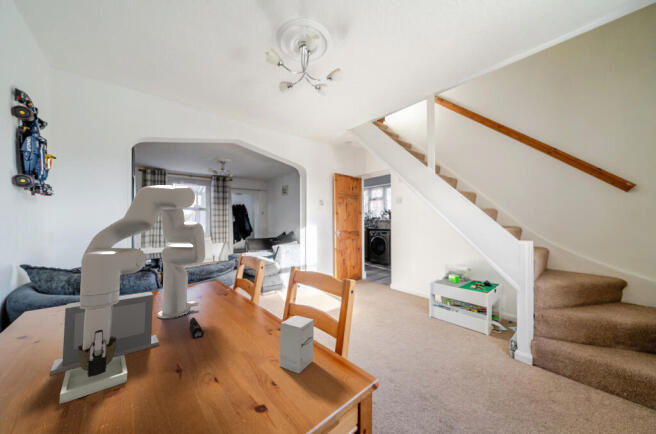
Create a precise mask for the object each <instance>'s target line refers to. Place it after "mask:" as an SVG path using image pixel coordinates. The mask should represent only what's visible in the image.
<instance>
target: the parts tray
mask: <svg viewBox="0 0 656 434" xmlns="http://www.w3.org/2000/svg"><path fill="white" fill-rule="evenodd" d="M125 355H126V354H124V355H120V356H117V357H113V359H112V360H111V362H110V363H109V364H108V365H106V366H107V368H106V371H105V372H104V373H102V374H100V375H97V376H91V377H88V375H87V372H88V371H85V370H83V369H82V368H81V367H77V368H73V369H70V370H66V371H65V373H64V377H63V382H62V386H61V390H60V393H59V405H62V404H64V403H65V404H66V403H68V402H71V401H73V400H77V399H79V398H82V397H85V396H87V395H91V394H94V393H97V392H100V391H103V390H107V389H108V388H112V387H115V386H118V385H121V384H124V383H126V382H127V381H128V369H127V364H126V358H125ZM61 403H62V404H61Z"/></svg>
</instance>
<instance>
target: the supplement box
mask: <svg viewBox="0 0 656 434" xmlns="http://www.w3.org/2000/svg"><path fill="white" fill-rule="evenodd" d="M314 321H315V319H313V318H308V317H304V316H301V315H294V316H292V317H289V318H287V319H286V320H284V321H282V322H281V323H280V330H279V331H280V337H279V340H280V341H279V367H281V368H282V369H285V370H288V371H291V372H293V373H296V374H300V373H301V372H303V371H304V369H306V368H307V367H308V366H309V365H310V364H311V363H313V361H314V337H315V336H314V335H315V333H314V328H315V327H314V326H315V325H314V324H315V322H314Z"/></svg>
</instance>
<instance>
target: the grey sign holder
mask: <svg viewBox="0 0 656 434" xmlns="http://www.w3.org/2000/svg"><path fill="white" fill-rule="evenodd" d="M153 302H154V294H153V293H152V291H145V292H139V293H133V294H126V295H119V302H118V303H116V304H113V314H112V327H111V334H110V338H111V337H112V336H113V337H116V339H117V343H116V348H115V353H114V357H113V358H115V357H119V356H122V355H127V354H131V353H135V352H138V351H142V350H145V349H149V348H152V347H156V346H159V345H160V341H159V339H158V337H157V335H156V334H153V335H152V332H153V331H152V329H153V328H152V327H153V307H154V303H153ZM64 308H65V310H64V311H65V312H64V324H63V325H64V328H63V346H62V347H63V348H62V357H61V358H58V359H54V361H53V363H52V366H51V368H50V375H54V374H59V373H62V372H66V371H68V370H72V369H76V368H79V367H81V366H80V363H79V355H78V346H81V345H82V343H83V329H84V315H85V309H81V308H80V301H79V302H78V301H77V302H71V303H67V304H66V306H65V307H64Z"/></svg>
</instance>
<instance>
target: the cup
mask: <svg viewBox="0 0 656 434" xmlns="http://www.w3.org/2000/svg"><path fill="white" fill-rule="evenodd" d="M116 343H117V339H116V337H113V336H112V337H111V338H110V340H109V343H108V344H107V345H106V347H105V356H106V365H108V364H109V363H110V362H111V360H112V359H113V358H115V357H114V353H115V348H116ZM102 344H104V342H102ZM93 346H95V344H93ZM82 348H83V343H82V345H81V346H78V355H79V363H80V366H81V368H82V369H83V370H85V371H88V363H89V360H90V350H91V349H90V348H91V346H90V348H88V349H86V350H83V349H82ZM101 349H103V347H102V348H101ZM93 351H95V349H93ZM106 368H107V366H106ZM101 374H102V373H101ZM87 375H88V372H87ZM98 375H100V374H98ZM95 376H97V375H95Z"/></svg>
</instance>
